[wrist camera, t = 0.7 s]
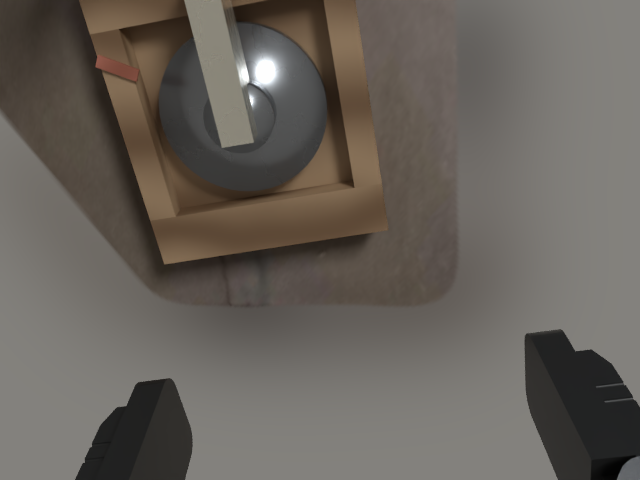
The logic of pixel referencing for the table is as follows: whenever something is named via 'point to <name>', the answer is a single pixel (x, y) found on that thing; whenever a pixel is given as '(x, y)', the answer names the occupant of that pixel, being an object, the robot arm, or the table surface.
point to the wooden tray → (231, 205)
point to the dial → (241, 101)
